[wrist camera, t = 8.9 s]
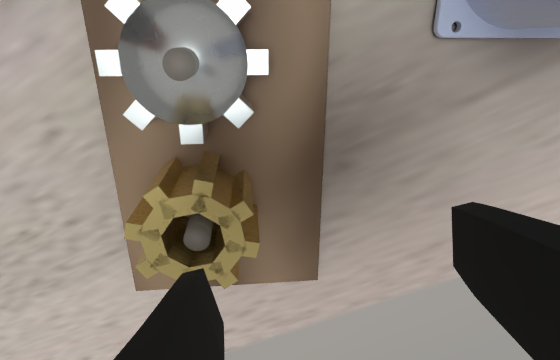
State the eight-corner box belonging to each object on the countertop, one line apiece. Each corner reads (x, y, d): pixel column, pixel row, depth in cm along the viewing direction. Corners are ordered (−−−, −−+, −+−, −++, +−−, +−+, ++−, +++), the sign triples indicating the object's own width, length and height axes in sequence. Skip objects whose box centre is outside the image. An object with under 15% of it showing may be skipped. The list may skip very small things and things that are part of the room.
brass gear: (263, 236, 20) (267, 280, 16) (167, 255, 20) (149, 303, 16) (244, 144, 18) (244, 170, 14) (136, 163, 18) (107, 195, 14)
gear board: (326, -7, 17) (354, -24, 12) (314, 270, 22) (330, 321, 18) (88, -11, 16) (30, -30, 11) (140, 280, 22) (115, 336, 17)
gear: (264, -23, 15) (266, -33, 13) (266, 130, 18) (269, 142, 16) (101, -26, 15) (78, -37, 13) (128, 134, 17) (112, 146, 15)
